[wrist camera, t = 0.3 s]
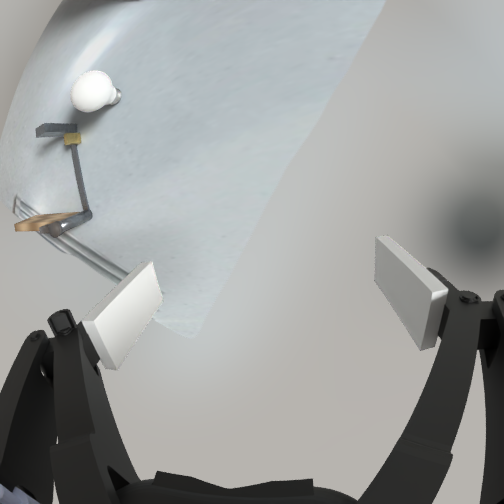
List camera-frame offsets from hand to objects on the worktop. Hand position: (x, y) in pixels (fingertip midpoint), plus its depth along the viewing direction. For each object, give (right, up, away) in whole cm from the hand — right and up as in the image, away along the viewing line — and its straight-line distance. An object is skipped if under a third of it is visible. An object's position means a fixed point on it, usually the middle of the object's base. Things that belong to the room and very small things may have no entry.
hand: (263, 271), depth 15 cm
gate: (-38, +8, +29) cm, 49 cm away
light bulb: (-23, +27, +22) cm, 42 cm away
